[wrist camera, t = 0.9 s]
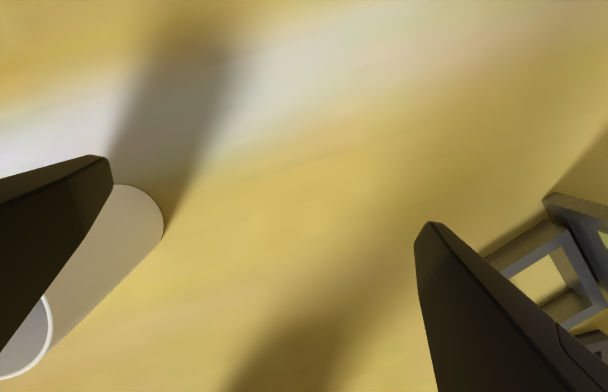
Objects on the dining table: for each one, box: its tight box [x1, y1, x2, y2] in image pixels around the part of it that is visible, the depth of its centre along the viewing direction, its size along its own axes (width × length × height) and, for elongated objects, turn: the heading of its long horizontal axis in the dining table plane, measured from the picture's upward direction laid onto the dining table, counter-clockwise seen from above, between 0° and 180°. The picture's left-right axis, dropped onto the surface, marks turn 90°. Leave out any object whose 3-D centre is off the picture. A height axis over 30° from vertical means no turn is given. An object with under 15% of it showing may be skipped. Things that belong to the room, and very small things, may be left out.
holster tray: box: [574, 330, 608, 364], centre depth 29 cm, size 9×9×1 cm
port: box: [484, 192, 608, 331], centre depth 24 cm, size 10×12×6 cm
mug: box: [0, 184, 164, 380], centre depth 18 cm, size 10×7×12 cm, turn 132°
